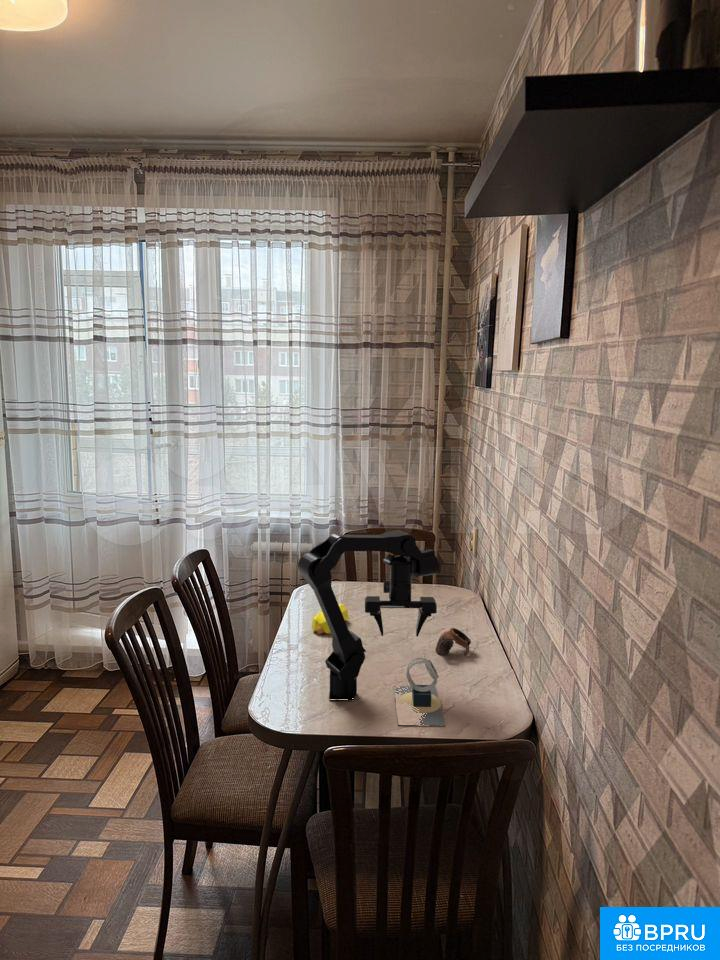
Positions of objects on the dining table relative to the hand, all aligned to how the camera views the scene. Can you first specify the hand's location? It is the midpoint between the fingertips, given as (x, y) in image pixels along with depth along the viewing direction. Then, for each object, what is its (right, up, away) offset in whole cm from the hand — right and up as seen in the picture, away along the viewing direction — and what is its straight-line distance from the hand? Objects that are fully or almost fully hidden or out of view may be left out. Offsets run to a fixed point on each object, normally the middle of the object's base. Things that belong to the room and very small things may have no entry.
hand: (399, 635), depth 174 cm
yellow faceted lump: (-20, -7, +42) cm, 47 cm away
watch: (+5, -14, -10) cm, 18 cm away
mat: (+4, -15, -11) cm, 19 cm away
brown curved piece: (+16, -11, +21) cm, 29 cm away
